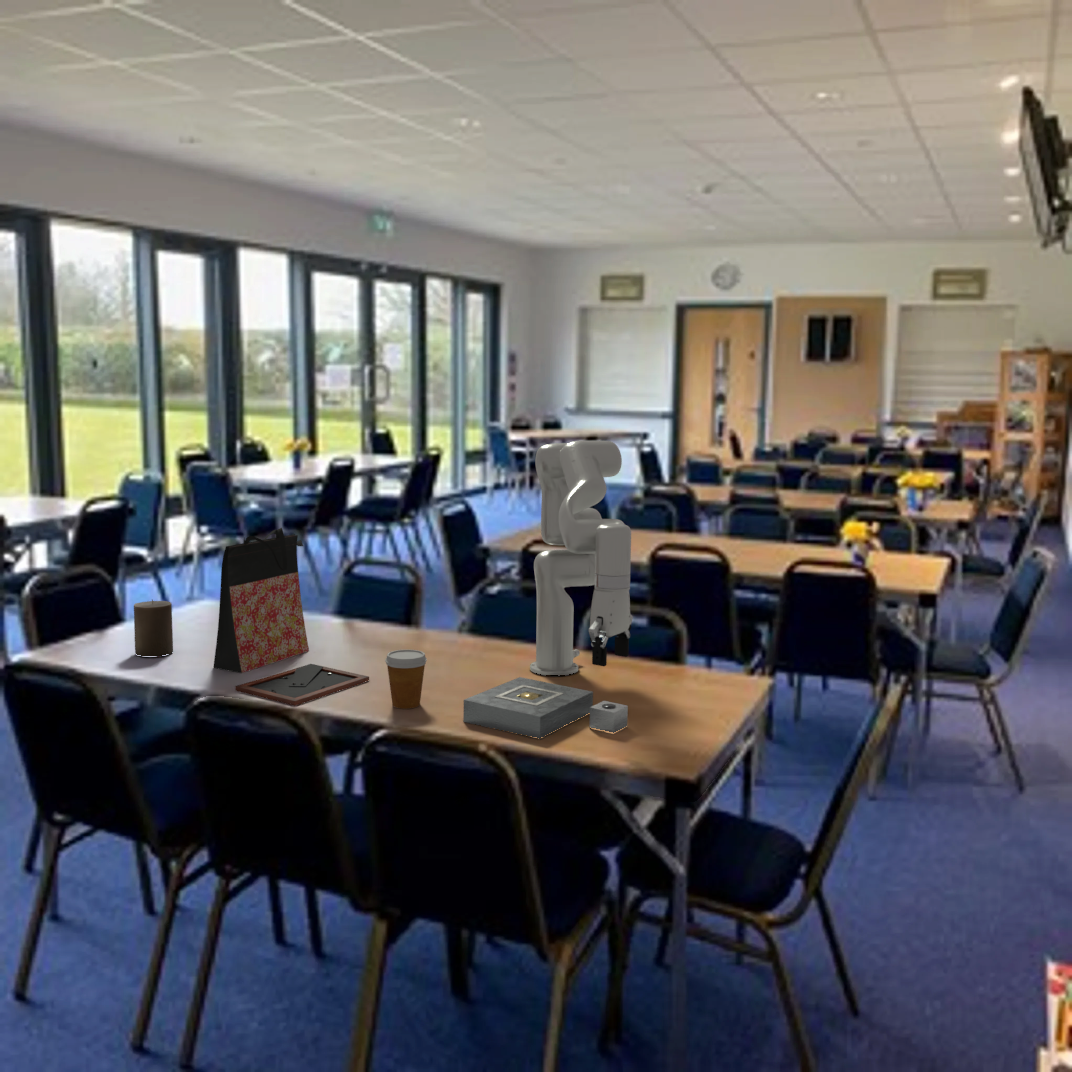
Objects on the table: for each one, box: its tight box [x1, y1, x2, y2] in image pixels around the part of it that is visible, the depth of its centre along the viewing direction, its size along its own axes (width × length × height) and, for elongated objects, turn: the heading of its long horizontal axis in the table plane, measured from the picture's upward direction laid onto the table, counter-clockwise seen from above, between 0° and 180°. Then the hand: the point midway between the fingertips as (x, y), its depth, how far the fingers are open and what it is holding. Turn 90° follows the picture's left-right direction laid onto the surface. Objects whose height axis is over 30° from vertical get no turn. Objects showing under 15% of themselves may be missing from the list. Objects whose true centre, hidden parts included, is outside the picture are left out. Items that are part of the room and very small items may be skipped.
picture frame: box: [234, 663, 370, 707], centre depth 254 cm, size 20×2×25 cm
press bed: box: [462, 676, 594, 740], centre depth 232 cm, size 22×20×5 cm
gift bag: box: [213, 527, 310, 674], centre depth 276 cm, size 29×14×35 cm, turn 152°
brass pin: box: [520, 692, 538, 700], centre depth 232 cm, size 4×4×5 cm
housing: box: [588, 700, 629, 733], centre depth 226 cm, size 6×6×5 cm
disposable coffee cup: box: [384, 649, 428, 710], centre depth 239 cm, size 10×10×12 cm
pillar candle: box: [133, 599, 174, 656], centre depth 280 cm, size 10×10×15 cm
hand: (610, 660), depth 224 cm, fingers open, 9 cm apart
